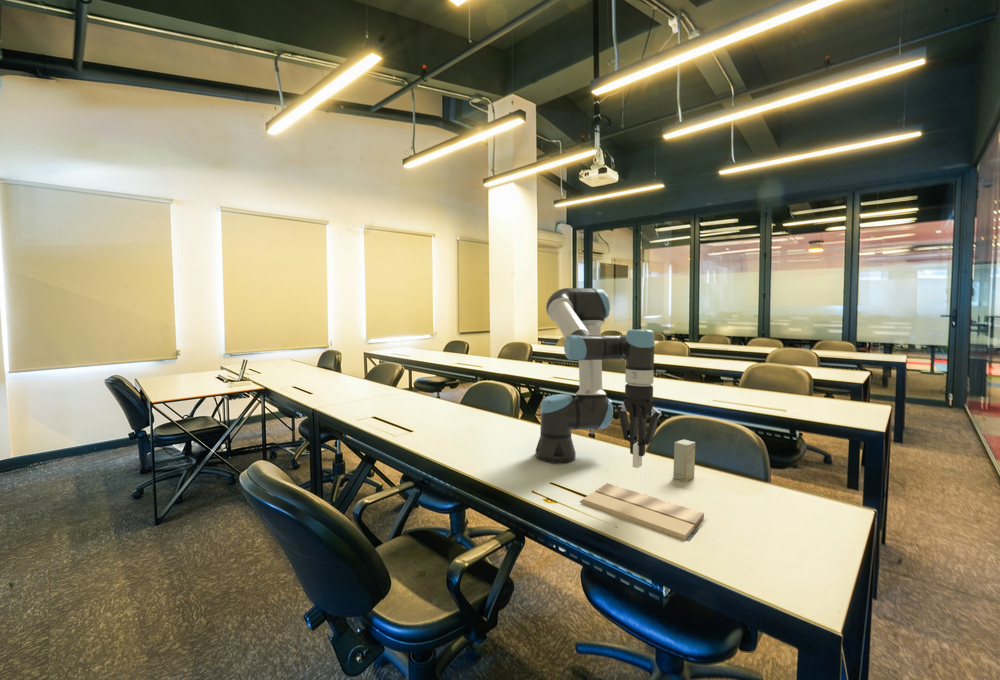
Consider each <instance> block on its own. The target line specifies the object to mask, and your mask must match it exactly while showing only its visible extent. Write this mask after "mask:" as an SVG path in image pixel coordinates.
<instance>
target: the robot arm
mask: <svg viewBox="0 0 1000 680" xmlns="http://www.w3.org/2000/svg"><path fill="white" fill-rule="evenodd" d="M545 308H546V309H545V310H546V314H547V316H548V317H549V318H550V320H552V321H553V322H555V323H556V325H557V327H558V328H559V330H560V332H561V333H562V336H563V338H564V343H563V344H564V346H563V347H564V349H563V350H564V351H563V352H564V355H565V358H567V359H568V360H570V361H578V375H579V376H578V380H579V381H578V383H579V384H578V385H579V389H578V390H577V392H575V398H573V396H572V395H571V394H563V393H559V394H552V395H548V396H545V397H543V399H542V400H541V403H540V411H539V412H540V435H539V438H538V442H537V444H536V448H535V458H536V459H537V460H539V461H541V462H544V463H548V464H555V465H556V464H568V463H569V464H570V463H571V462H575V460H576V455H577V453H576V449H575V446H574V443H573V439H572V438H573V437H572V431H575V430H579V431H580V430H595V431H596V430H603V429H607V428H608V427H609V426H610V425H611V423H612V419H613V417H614V415H613V414H614V405H613V401H612V400H611V399H610V398H608V396H607V394H608V393H606V391H605V390H604V389H603V368H602V367H603V366H602V365H603V364H602V363H603V362H602V361H625V383H626V384H625V385H624V397H625V398H624V400H623V403H622V404H620V405H617V406H616V407H615V409H616V411H617V413H618V415H619V420H620V425H621V429H622V435H623V439H624V440H625V441H627V442H629V446H630V447H629V452H630V455H632V468H636V469H638V468H640V467H642V466H643V457H644V456H645V455H646V445H649V444H652V443H653V440H654V435H655V433H656V429H657V425H658V423H659V420H660V418H661V416H662V415H663V412H662V411H661V410H658V409H656V408H655V404H654V402H653V400H654V399H653V398H654V386H653V384H654V366H655V365H654V361H655V345H656V343H655V334H654V331H653V330H651V329H628V330H627V331H626V334H616V335H615V334H614V335H613V334H611V335H610V334H609V335H605V334H603V335H602V334H601V331H602V329H601V327H602V326H603V325H604V324H605V320H606V319H607V318H608V317H609V316H610V311H611V303H610V299H609V296H608V294H607V293H606V291H605V290H604V289H601V288H593V287H591V288H589V287H587V288H584V287H583V288H581V287H580V288H579V287H577V288H574V287H573V288H572V287H565V288H561V289H558V290H556V291H554V292H553V293H552V294H551V295H550V296H549V298H548V300H547V301H546V306H545ZM650 413H651V414H650ZM628 415H629V417H628ZM649 415H650V416H651V418H650V420H649V422H648V426H647V420H648V416H649Z"/></svg>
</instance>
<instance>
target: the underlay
mask: <svg viewBox="0 0 1000 680" xmlns="http://www.w3.org/2000/svg"><path fill="white" fill-rule="evenodd" d="M581 499H582V500H580V501H579V503H582V504H584V505H587V506H589V507H592V508H595V509H598V510H600V511H603V512H605V513H606V512H607V513H609V514H612V515H615V516H616V517H620V518H623V519H626V520H627V521H631V522H634V523H636V524H639V525H643V526H645V527H647V528H650V529H653V530H656V531H659V532H661V533H665V534H667V535H670V536H672V537H676V538H679V539H681V540H683V541H687V542H690V541H691V540H692V539H693V538H694V537H695V535H696V533H698V531H700V529H699V527H696V528H694V525H693V524H690V523H687V522H684V521H681V520H678V519H675V518H672V517H669V516H666V515H663V514H660V513H657V512H654V511H651V510H648V509H645V508H642V507H639V506H636V505H633V504H630V503H627V502H624V501H621V500H618V499H615V498H612V497H609V496H606V495H603V494H600V493H597V492H596V491H593V492H591V493H590V494H588V495H586V496H585V497H583V498H581ZM706 521H707V519H704V522H703V521H701V522H700V527H703V525H704V524H705V523H706Z"/></svg>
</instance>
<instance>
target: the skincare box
mask: <svg viewBox="0 0 1000 680" xmlns="http://www.w3.org/2000/svg"><path fill="white" fill-rule="evenodd" d="M673 449H674V450H673V474H672V475H673V478H674V479H677V480H680V481H683V482H687V481H689V480H692V479H694V478H695V466H696V464H695V463H696V462H695V461H696V460H695V459H696V441H691V440H688V439H683V438H682V439H681V440H677V441H675V442H674V448H673Z"/></svg>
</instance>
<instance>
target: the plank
mask: <svg viewBox="0 0 1000 680" xmlns="http://www.w3.org/2000/svg"><path fill="white" fill-rule="evenodd" d="M595 492H597V493H600V494H603V495H606V496H609V497H612V498H615V499H618V500H621V501H624V502H627V503H630V504H633V505H636V506H639V507H642V508H645V509H648V510H651V511H654V512H657V513H660V514H663V515H666V516H669V517H672V518H675V519H678V520H681V521H684V522H687V523H690V524H693V525H694V529H697V527H698V526H699V525H700V524H701V522H702V521H703V520H704V519H705V512H702V511H699V510H696V509H692V508H689V507H686V506H682V505H680V504H676V503H672V502H670V501H666V500H663V499H659V498H656V497H653V496H650V495H647V494H643V493H641V492H637V491H634V490H631V489H627V488H626V487H625V488H624V487H622V486H618V485H614V484H611V483H608V482H607V483H605V484H603V485H602V486H601V487H599V488H598V489H596V490H595Z"/></svg>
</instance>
